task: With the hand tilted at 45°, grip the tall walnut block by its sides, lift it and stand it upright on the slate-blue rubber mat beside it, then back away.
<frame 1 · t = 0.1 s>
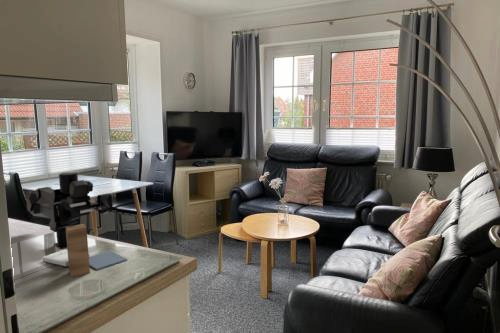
hand: (95, 212, 112), 17 cm above the kitchen counter, tool horizontal, fingers open, 9 cm apart
rubber mat: (104, 260, 117), on the kitchen counter
walnut block: (79, 272, 108), on the kitchen counter
external hard drive: (66, 260, 117), on the kitchen counter, touching rubber mat
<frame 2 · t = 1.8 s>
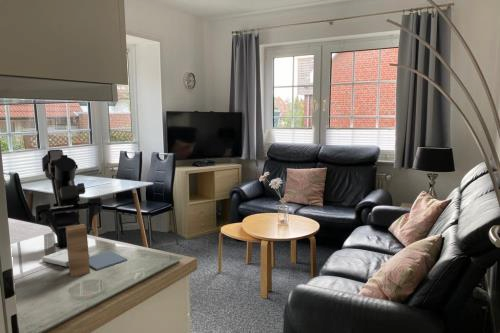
hand: (74, 232, 110), 11 cm above the kitchen counter, tool tilted 45°, fingers open, 9 cm apart
nothing on the kitchen counter moved.
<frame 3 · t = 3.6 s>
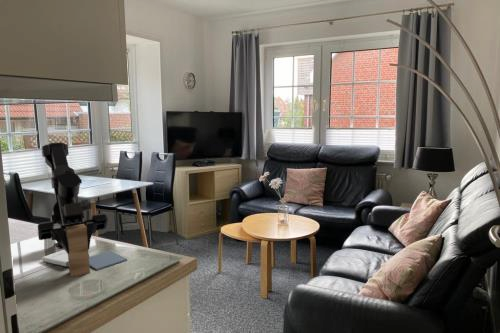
hand: (78, 251, 106), 7 cm above the kitchen counter, tool tilted 45°, fingers closed on walnut block, 5 cm apart
walnut block: (79, 272, 108), on the kitchen counter, touching gripper
everything else where it was.
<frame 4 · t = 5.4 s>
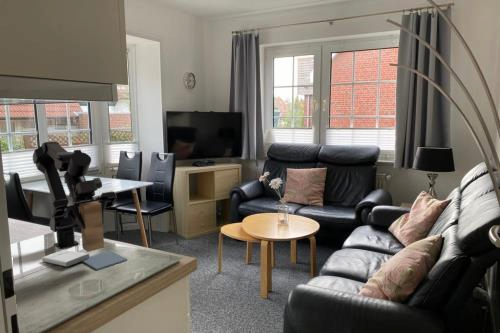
hand: (93, 226, 110), 13 cm above the kitchen counter, tool tilted 45°, fingers closed on walnut block, 5 cm apart
walnut block: (93, 247, 112), point 6 cm above the kitchen counter, touching gripper
everything else where it was.
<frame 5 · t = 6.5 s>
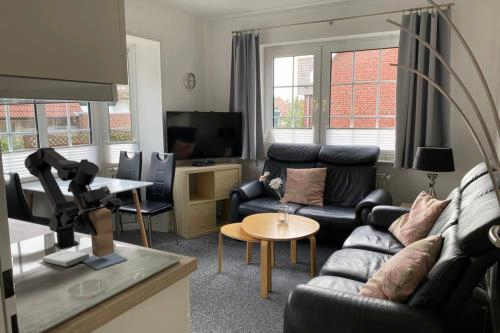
hand: (104, 232, 115), 10 cm above the kitchen counter, tool tilted 45°, fingers closed on walnut block, 5 cm apart
walnut block: (103, 253, 117), point 2 cm above the kitchen counter, touching gripper
everything else where it was.
when the fingers open (8 cm above the kitchen counter, at t = 7.1 s): walnut block stays where it is, resting on rubber mat.
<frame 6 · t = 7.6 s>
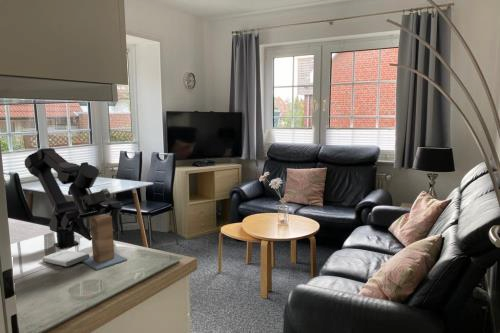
hand: (104, 235, 115), 9 cm above the kitchen counter, tool tilted 45°, fingers open, 9 cm apart
walnut block: (104, 259, 117), resting on rubber mat
everything else where it was.
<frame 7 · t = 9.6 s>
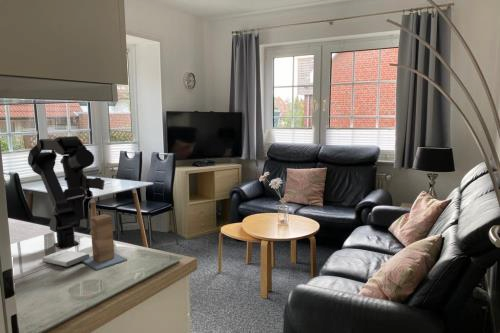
hand: (84, 219, 120), 12 cm above the kitchen counter, tool tilted 20°, fingers open, 9 cm apart
nothing on the kitchen counter moved.
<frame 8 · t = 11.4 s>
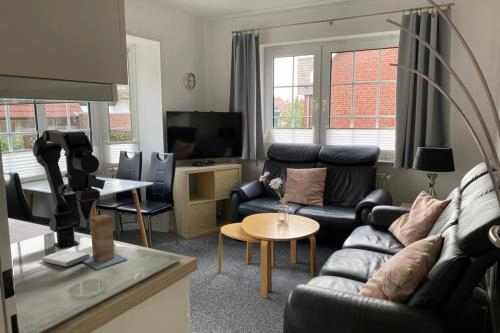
hand: (80, 216, 121), 13 cm above the kitchen counter, tool pointing down, fingers open, 9 cm apart
nothing on the kitchen counter moved.
at the end: walnut block inside the target area on the rubber mat (0.0 cm from its centre), point 0.5 cm above the rubber mat's base; walnut block tilted 0°; the gripper is holding nothing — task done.
